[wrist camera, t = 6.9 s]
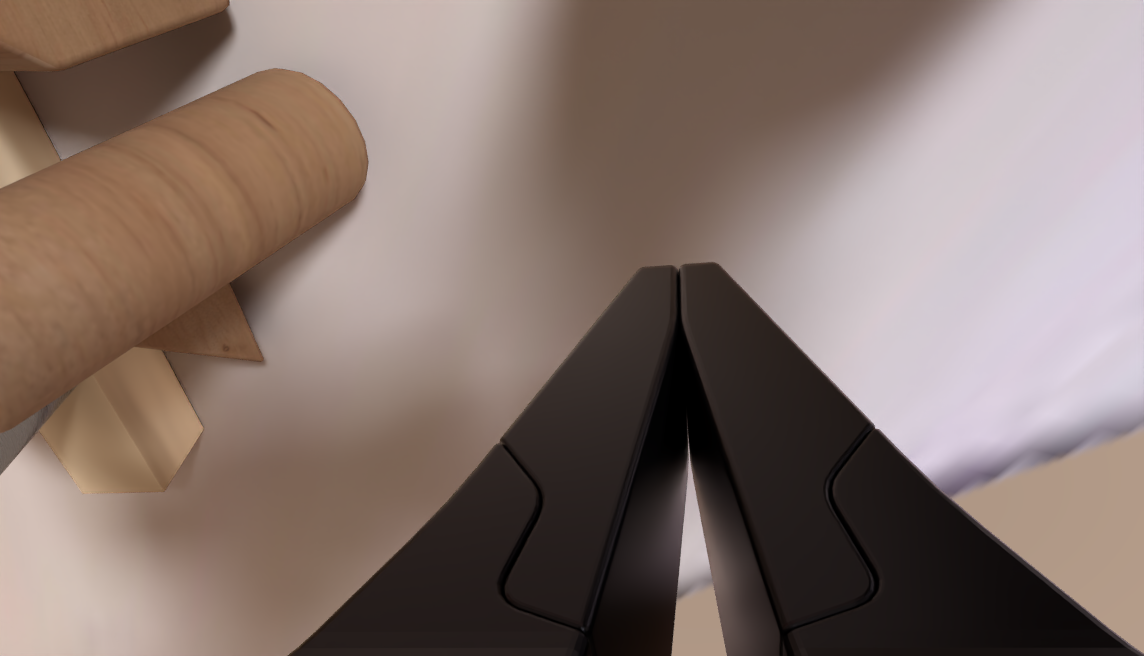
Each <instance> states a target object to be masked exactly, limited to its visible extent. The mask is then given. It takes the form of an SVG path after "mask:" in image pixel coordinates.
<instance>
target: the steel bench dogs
mask: <svg viewBox="0 0 1144 656" xmlns="http://www.w3.org/2000/svg"><path fill="white" fill-rule="evenodd" d="M76 387H77V385H76V386H75V387H73V388H72V389H70V390H69V391H67V392H66V393H64V394H63V395H62V396H60V397H59V398H57V399H56V400H54V401H53V402H51V403H50V404H48V405H47V406H45V407H44V408H42V409H41V410H39V411H38V412H36V413H35V414H33V415H32V416H30V417H29V418H27V419H26V420H24V421H23V422H21V423H20V424H18V425H17V426H15V427H14V428H12V429H10V430H8V431H6V432H3V433H0V475H1V474H2V473H3V471H4V470H5V469H6V468H7V467H8V466H9V464H10V463H11V462H12V461H13V460H14V459H15V457H16V456H17V455H18V454H19V453H20V452H21V450H22V449H23V448H24V447H25V446H26V445H27V444H28V442H29V441H30V440H31V439H32V438H33V437H34V435H35V434H36V433H37V432H38V431H39V430H40V428H41V427H42V426H43V425H44V424H45V423H46V421H47V420H48V419H49V418H50V417H51V416H52V414H53V413H54V412H55V411H56V410H57V409H58V408H59V406H60V405H61V404H62V403H63V402H64V401H65V399H66V398H67V397H68V396H69V395H70V394H71V392H72V391H73V390H74V389H75V388H76Z"/></svg>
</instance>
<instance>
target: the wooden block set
mask: <svg viewBox="0 0 1144 656" xmlns="http://www.w3.org/2000/svg"><path fill="white" fill-rule="evenodd" d="M228 6H229V0H0V71H61V70H65V69H68V68H71V67H73V66H76V65H79V64H82V63H84V62H87V61H90V60H92V59H95V58H98V57H101V56H103V55H106V54H109V53H111V52H114V51H117V50H120V49H122V48H125V47H128V46H131V45H133V44H136V43H139V42H141V41H144V40H147V39H150V38H152V37H155V36H158V35H160V34H163V33H166V32H169V31H171V30H174V29H177V28H179V27H182V26H185V25H188V24H190V23H193V22H196V21H198V20H201V19H204V18H207V17H209V16H212V15H215V14H217V13H220V12H222V11H223V10H225V9H226V8H227V7H228ZM367 169H368V156H367V150H366V145H365V140H364V138H363V136H362V134H361V132H360V129H359V127H358V125H357V123H356V120H355V119H354V118H353V116H352V115H351V113H350V112H349V111H348V109H347V108H346V107H345V105H344V104H343V103H342V101H341V100H340V99H339V98H338V97H337V96H336V95H334V94H333V93H332V92H331V91H330V90H329V89H328V88H326V87H325V86H324V85H323V84H322V83H320V82H318V81H316V80H314V79H313V78H311V77H309V76H307V75H305V74H303V73H300V72H295V71H290V70H285V69H277V68H274V69H269V70H265V71H260V72H257V73H255V74H252V75H250V76H248V77H246V78H244V79H241V80H239V81H237V82H235V83H232V84H230V85H228V86H226V87H224V88H221V89H219V90H217V91H215V92H213V93H210V94H208V95H206V96H204V97H201V98H199V99H197V100H195V101H193V102H190V103H188V104H186V105H184V106H182V107H179V108H177V109H175V110H173V111H171V112H168V113H166V114H164V115H162V116H159V117H157V118H155V119H153V120H151V121H148V122H146V123H144V124H142V125H140V126H137V127H135V128H133V129H131V130H129V131H126V132H124V133H122V134H120V135H117V136H115V137H113V138H111V139H109V140H106V141H104V142H102V143H100V144H98V145H95V146H93V147H91V148H89V149H87V150H84V151H82V152H80V153H78V154H75V155H73V156H71V157H69V158H67V159H64V160H62V161H60V162H58V163H56V164H53V165H51V166H49V167H47V168H45V169H42V170H40V171H38V172H36V173H33V174H31V175H29V176H27V177H25V178H22V179H20V180H18V181H16V182H14V183H11V184H9V185H7V186H5V187H3V188H0V433H3V432H6V431H8V430H10V429H12V428H14V427H15V426H17V425H18V424H20V423H21V422H23V421H24V420H26V419H27V418H29V417H30V416H32V415H33V414H35V413H36V412H38V411H39V410H41V409H42V408H44V407H45V406H47V405H48V404H50V403H51V402H53V401H54V400H56V399H57V398H59V397H60V396H62V395H63V394H64V393H66V392H67V391H69V390H70V389H72V388H73V387H75V386H76V385H78V384H79V383H81V382H82V381H84V380H85V379H87V378H88V377H90V376H91V375H93V374H94V373H96V372H97V371H99V370H100V369H102V368H103V367H105V366H106V365H108V364H109V363H111V362H112V361H114V360H115V359H117V358H118V357H120V356H121V355H123V354H124V353H126V352H127V351H129V350H130V349H132V348H133V347H138V348H147V349H155V350H164V351H173V352H181V353H190V354H198V355H207V356H216V357H224V358H233V359H242V360H250V361H259V362H261V361H263V356H262V354H261V352H260V350H259V347H258V345H257V343H256V341H255V339H254V336H253V334H252V332H251V330H250V327H249V325H248V323H247V321H246V319H245V316H244V314H243V312H242V310H241V307H240V305H239V303H238V301H237V299H236V296H235V294H234V292H233V290H232V287H231V285H230V282H231V281H233V280H234V279H236V278H237V277H239V276H240V275H242V274H243V273H245V272H246V271H248V270H249V269H251V268H252V267H254V266H255V265H257V264H258V263H260V262H261V261H263V260H264V259H266V258H267V257H269V256H270V255H272V254H273V253H275V252H276V251H278V250H279V249H281V248H282V247H284V246H285V245H286V244H288V243H289V242H291V241H292V240H294V239H295V238H297V237H298V236H300V235H301V234H303V233H304V232H306V231H307V230H309V229H310V228H312V227H313V226H315V225H316V224H318V223H319V222H321V221H322V220H324V219H325V218H327V217H328V216H330V215H331V214H333V213H334V212H336V211H337V210H339V209H340V208H342V207H343V206H345V205H346V204H348V203H349V202H351V201H352V200H354V199H355V197H356V196H357V194H358V193H359V191H360V190H361V188H362V187H363V185H364V183H365V181H366V176H367Z"/></svg>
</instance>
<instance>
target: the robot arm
mask: <svg viewBox="0 0 1144 656" xmlns="http://www.w3.org/2000/svg"><path fill="white" fill-rule="evenodd" d="M687 424H688V425H687ZM688 437H689V449H690V461H691V467H692V473H693V480H694V485H695V490H696V496H697V501H698V506H699V511H700V517H701V522H702V527H703V532H704V538H705V543H706V548H707V553H708V559H709V564H710V569H711V574H712V580H713V585H714V590H715V595H716V600H717V606H718V611H719V616H720V622H721V627H722V632H723V637H724V643H725V648H726V653H727V656H1144V654H1143V653H1142V652H1140V651H1139V650H1137V649H1136V648H1134V647H1133V646H1132V645H1130V644H1129V643H1128V642H1126V641H1125V640H1124V639H1123V638H1121V637H1120V636H1119V635H1117V634H1116V633H1115V632H1113V631H1112V630H1111V629H1109V628H1108V627H1107V626H1106V625H1104V624H1103V623H1102V622H1101V621H1100V620H1098V619H1097V618H1096V617H1095V616H1093V615H1092V614H1091V613H1090V612H1088V611H1087V610H1086V609H1085V608H1084V607H1082V606H1081V605H1080V604H1079V603H1077V602H1076V601H1075V600H1074V599H1072V598H1071V597H1070V596H1069V595H1067V594H1066V593H1065V592H1064V591H1063V590H1061V589H1060V588H1059V587H1058V586H1056V585H1055V584H1054V583H1053V582H1051V581H1050V580H1049V579H1048V578H1046V577H1045V576H1044V575H1043V574H1041V573H1040V572H1039V571H1038V570H1036V569H1035V568H1034V567H1033V566H1032V565H1030V564H1029V563H1028V562H1027V561H1026V560H1024V559H1023V558H1022V557H1020V556H1019V555H1018V554H1017V553H1016V552H1014V551H1013V550H1012V549H1011V548H1010V547H1008V546H1007V545H1006V544H1005V543H1003V542H1002V541H1001V540H1000V539H998V538H997V537H996V536H995V535H993V534H992V533H991V532H990V531H989V530H987V529H986V528H985V527H984V526H983V525H981V524H980V523H979V522H978V521H977V520H976V519H974V518H973V517H972V516H971V515H970V514H969V513H967V512H966V511H965V510H964V509H963V508H962V507H960V506H959V505H958V504H957V503H956V502H955V501H953V500H952V499H951V498H950V497H949V496H947V495H946V494H945V493H944V492H943V491H942V490H940V489H939V488H938V487H937V486H936V485H935V484H934V483H933V482H932V481H931V480H930V479H929V478H928V477H927V476H926V475H925V474H924V473H923V472H922V471H921V470H919V469H918V468H917V467H916V466H915V465H914V464H913V463H912V462H911V461H910V460H909V459H908V458H907V457H906V456H905V455H904V454H903V453H902V452H901V451H900V450H899V449H898V448H897V447H896V446H895V445H894V444H893V443H892V442H891V441H890V440H889V439H888V438H887V437H886V436H885V435H884V434H883V433H882V431H880V430H879V429H875V425H874V424H873V423H872V422H871V421H870V420H869V419H868V418H867V416H866V415H865V414H864V413H863V412H862V411H861V410H860V409H859V408H858V407H857V406H856V405H855V404H854V403H853V402H852V401H851V400H850V399H849V398H848V397H847V396H846V395H845V394H844V393H843V392H842V391H841V390H840V389H839V388H838V387H837V386H836V385H835V384H834V383H833V381H832V380H831V379H830V378H829V377H828V376H827V375H826V374H825V373H824V372H823V371H822V370H821V369H820V368H819V367H818V366H817V365H816V364H815V363H814V362H813V361H812V360H811V359H810V358H809V357H808V356H807V355H806V354H805V353H804V352H803V351H802V350H801V349H800V347H799V346H798V345H797V344H796V343H795V342H794V341H793V340H792V339H791V338H790V337H789V336H788V335H787V334H786V333H785V332H784V331H783V330H782V329H781V328H780V327H779V326H778V325H777V324H776V323H775V322H774V321H773V320H772V319H771V318H770V317H769V316H768V315H767V314H766V312H765V311H764V310H763V309H762V308H761V307H760V306H759V305H758V304H757V303H756V302H755V301H754V300H753V299H752V298H751V297H750V296H749V295H748V294H747V293H746V292H745V291H744V290H743V289H742V288H741V287H740V286H739V285H738V284H737V283H736V282H735V281H734V280H733V278H732V277H731V276H730V275H729V274H728V273H727V272H726V271H725V270H724V269H723V268H722V267H721V266H720V265H719V264H717V263H715V262H708V263H694V264H684V265H682V266H681V267H680V269H679V274H678V269H677V268H676V267H675V266H672V265H666V266H652V267H642V268H640V269H639V270H638V271H637V272H636V273H635V274H634V275H633V277H632V278H631V279H630V280H629V282H628V283H627V284H626V285H625V287H624V288H623V289H622V290H621V291H620V293H619V294H618V295H617V296H616V298H615V299H614V300H613V301H612V303H611V304H610V305H609V306H608V307H607V309H606V310H605V311H604V312H603V314H602V315H601V316H600V317H599V319H598V320H597V321H596V322H595V323H594V325H593V326H592V327H591V328H590V330H589V331H588V332H587V333H586V334H585V336H584V337H583V338H582V339H581V341H580V342H579V343H578V344H577V346H576V347H575V348H574V349H573V350H572V352H571V353H570V354H569V355H568V357H567V358H566V359H565V360H564V362H563V363H562V364H561V365H560V366H559V368H558V369H557V370H556V371H555V373H554V374H553V375H552V376H551V377H550V379H549V380H548V381H547V382H546V384H545V385H544V386H543V387H542V389H541V390H540V391H539V392H538V393H537V395H536V396H535V397H534V398H533V400H532V401H531V402H530V403H529V405H528V406H527V407H526V408H525V409H524V411H523V412H522V413H521V414H520V416H519V417H518V418H517V419H516V420H515V422H514V423H513V424H512V425H511V427H510V428H509V429H508V430H507V432H506V433H505V434H504V435H503V436H502V438H501V439H500V444H496V445H495V446H494V447H493V448H492V450H491V451H490V452H489V453H488V454H487V456H486V457H485V458H484V459H483V461H482V462H481V463H480V464H479V465H478V467H477V468H476V469H475V470H474V471H473V472H472V474H471V475H470V476H469V477H468V478H467V479H466V480H465V482H464V483H463V484H462V485H461V486H460V487H459V489H458V490H457V491H456V492H455V493H454V494H453V495H452V497H451V498H450V499H449V500H448V501H447V502H446V503H445V504H444V505H443V506H442V507H441V508H440V509H439V510H438V511H437V513H436V514H435V515H434V516H433V517H432V518H431V519H430V520H429V521H428V522H427V523H426V524H425V525H424V526H423V527H422V528H421V529H420V530H419V531H418V532H417V533H416V534H415V535H414V536H413V537H412V538H411V539H410V540H409V541H408V542H407V543H406V544H405V545H404V546H403V547H402V548H401V549H400V550H399V551H398V552H397V553H396V554H395V555H394V556H393V557H392V558H391V559H390V560H389V561H388V562H387V563H386V564H384V565H383V566H382V567H381V568H380V569H379V570H378V571H377V572H376V573H375V574H374V575H373V576H372V577H371V578H370V579H369V580H368V581H367V582H366V583H365V584H364V585H363V586H362V587H361V588H360V589H359V590H358V591H357V592H356V593H355V594H354V595H353V596H352V597H351V598H350V599H349V600H347V601H346V602H345V603H344V604H343V605H342V606H341V607H340V608H339V609H338V610H337V611H336V612H335V613H334V614H333V615H332V616H331V617H330V618H329V619H328V620H327V621H326V622H325V623H324V624H323V625H322V626H321V627H320V628H319V629H318V630H317V631H316V632H315V633H313V634H312V635H311V636H310V637H309V638H308V639H307V640H306V641H305V642H303V643H302V644H301V645H300V646H299V647H298V648H297V649H295V650H294V651H293V652H292V653H290V654H289V655H288V656H671V654H672V643H673V631H674V620H675V610H676V599H677V588H678V577H679V566H680V555H681V544H682V533H683V522H684V512H685V501H686V490H687V478H688V460H689V458H688Z"/></svg>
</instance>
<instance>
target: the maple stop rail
mask: <svg viewBox="0 0 1144 656" xmlns="http://www.w3.org/2000/svg"><path fill="white" fill-rule="evenodd" d="M60 161H61V160H60V158H59V156H58V154H57V152H56V150H55V149H54V147H53V145H52V143H51V141H50V139H49V137H48V135H47V134H46V132H45V130H44V128H43V126H42V124H41V122H40V120H39V118H38V117H37V115H36V113H35V111H34V109H33V107H32V105H31V103H30V102H29V100H28V98H27V96H26V94H25V92H24V90H23V88H22V87H21V85H20V83H19V81H18V79H17V77H16V75H15V73H14V72H13V71H0V188H3V187H5V186H7V185H9V184H11V183H14V182H16V181H18V180H20V179H22V178H25V177H27V176H29V175H31V174H33V173H36V172H38V171H40V170H42V169H45V168H47V167H49V166H51V165H53V164H56V163H58V162H60ZM203 430H204V428H203V427H202V425H201V423H200V421H199V419H198V417H197V415H196V413H195V412H194V410H193V408H192V406H191V404H190V402H189V400H188V398H187V397H186V395H185V393H184V391H183V389H182V387H181V385H180V383H179V382H178V380H177V378H176V376H175V374H174V372H173V370H172V368H171V366H170V365H169V363H168V361H167V359H166V357H165V355H164V353H163V351H162V350H155V349H147V348H138V347H133V348H132V349H130V350H129V351H127V352H126V353H124V354H123V355H121V356H120V357H118V358H117V359H115V360H114V361H112V362H111V363H109V364H108V365H106V366H105V367H103V368H102V369H100V370H99V371H97V372H96V373H94V374H93V375H91V376H90V377H88V378H87V379H85V380H84V381H82V382H81V383H79V384H78V385H77V387H76V388H75V389H74V390H73V391H72V392H71V394H70V395H69V396H68V397H67V398H66V399H65V401H64V402H63V403H62V404H61V405H60V406H59V408H58V409H57V410H56V411H55V412H54V413H53V414H52V416H51V417H50V418H49V419H48V420H47V421H46V423H45V424H44V425H43V426H42V427H41V428H40V430H39V431H40V433H41V434H42V436H43V437H44V439H45V440H46V441H47V443H48V444H49V446H50V447H51V449H52V450H53V452H54V453H55V454H56V456H57V457H58V459H59V460H60V462H61V463H62V464H63V466H64V467H65V469H66V470H67V472H68V473H69V475H70V476H71V477H72V479H73V480H74V482H75V483H76V485H77V486H78V487H79V489H80V490H81V492H82V493H83V494H89V493H132V492H164V491H165V490H166V488H167V487H168V485H169V483H170V482H171V480H172V479H173V477H174V476H175V474H176V472H177V471H178V469H179V468H180V466H181V464H182V463H183V461H184V460H185V458H186V457H187V455H188V453H189V452H190V450H191V449H192V447H193V445H194V444H195V442H196V441H197V439H198V438H199V436H200V434H201V433H202V431H203Z"/></svg>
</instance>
